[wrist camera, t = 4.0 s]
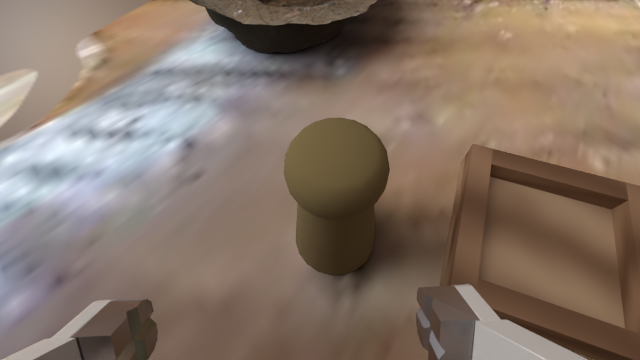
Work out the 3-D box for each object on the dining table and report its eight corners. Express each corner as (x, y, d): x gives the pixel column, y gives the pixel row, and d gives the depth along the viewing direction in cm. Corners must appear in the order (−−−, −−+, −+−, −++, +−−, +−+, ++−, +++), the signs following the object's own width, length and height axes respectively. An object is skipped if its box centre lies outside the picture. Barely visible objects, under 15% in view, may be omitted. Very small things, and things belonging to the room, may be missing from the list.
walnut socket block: (644, 377, 18) (687, 378, 16) (437, 300, 20) (449, 292, 18) (621, 204, 23) (650, 188, 21) (461, 162, 26) (472, 143, 24)
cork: (316, 189, 25) (307, 85, 16) (386, 217, 24) (421, 120, 14) (281, 253, 22) (243, 174, 13) (356, 290, 21) (376, 230, 11)
